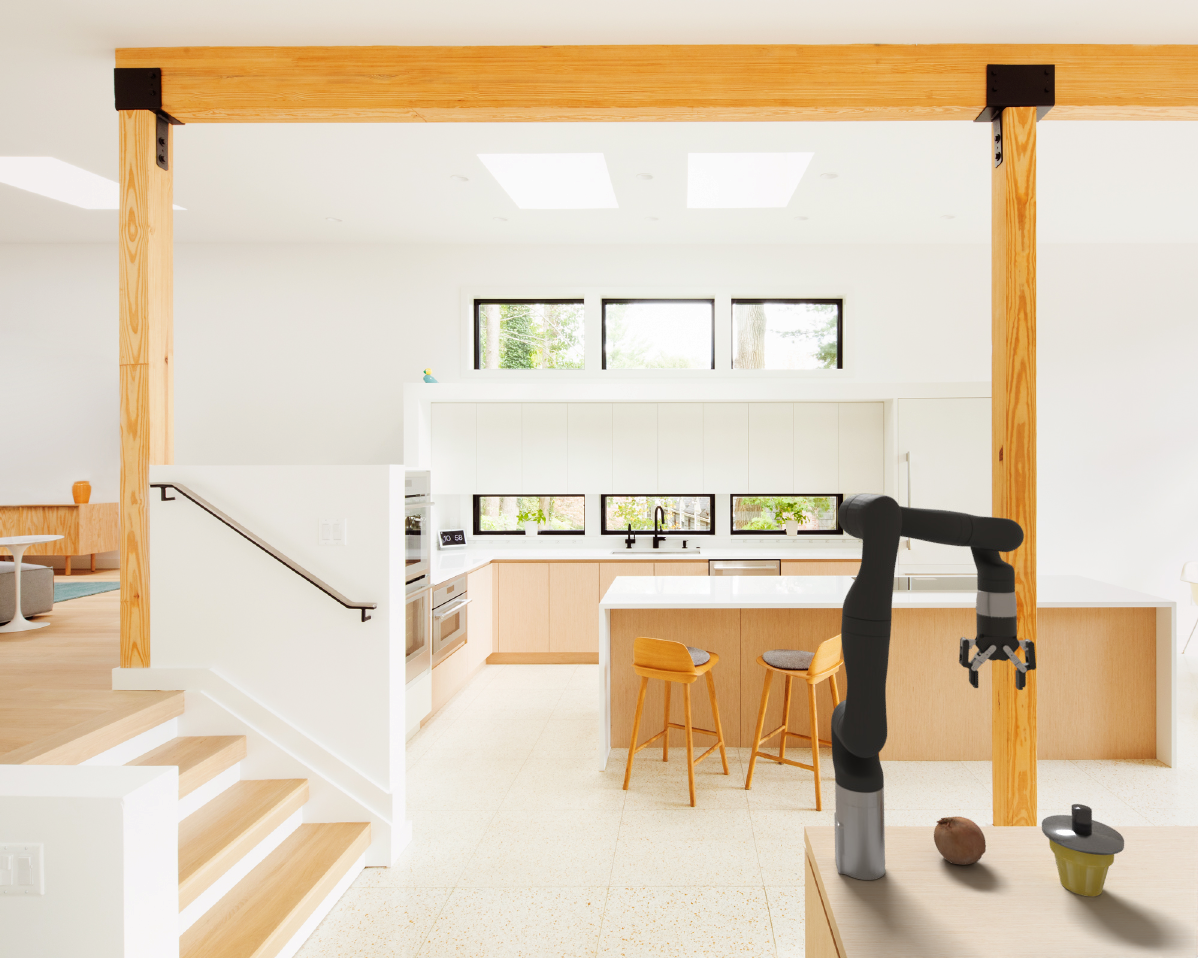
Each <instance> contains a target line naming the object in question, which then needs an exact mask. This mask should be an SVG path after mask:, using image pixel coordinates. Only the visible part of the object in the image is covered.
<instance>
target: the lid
mask: <svg viewBox="0 0 1198 958" xmlns="http://www.w3.org/2000/svg"><path fill="white" fill-rule="evenodd" d="M1041 830H1042V833H1043V835H1044V836H1046V837H1047V838H1048V839H1050V840H1052V841H1053V842H1055V843H1057V844H1059V845H1061V846H1064V847H1066V848H1069V849H1072V850H1075V851H1079V852H1083V853H1088V854H1095V855H1112V854H1114V855H1116V854H1120V852H1122V851H1124V849H1125V839H1124V836H1123V835H1121V833H1120V832H1119V831H1117V830H1116V829H1114V828H1112V827H1111V826H1109V825H1107V824H1104V823H1102V822H1100V821H1097V820H1093V810H1092V808H1091V807H1090V806H1088V805H1085V804H1081V803H1080V804H1079V803H1075V804H1071V815H1070V814H1067V815H1066V814H1057V815H1056V814H1055V815H1050V816H1047V817H1045V818H1044V819H1042V821H1041Z"/></svg>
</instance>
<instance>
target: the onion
mask: <svg viewBox="0 0 1198 958" xmlns="http://www.w3.org/2000/svg"><path fill="white" fill-rule="evenodd" d="M936 823H937V824H936V826H935V828H934V832H933V841H934V844H935V846H936V849H937V851H938V852H939V853H940V855H941V856H942V857H943V858H944V859H945V860H947V861H948V862H949V863H951V864H954V865H955V864H956V865H974V864H975V863H977V862H978V861H980V859H981V858H982V856H983V855H984V854H985V853H986V852H987V851H986V850H987V849H986V848H987V845H986V838H985V835H984V832H983V831H982V829H981V828H980V826H979V825H978V824H977V823H975V821H973V820H971V819H970V818H967V817H962V816H948V817H947V816H945V817H941V818H940V820H937V821H936Z"/></svg>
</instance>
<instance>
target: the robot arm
mask: <svg viewBox="0 0 1198 958" xmlns="http://www.w3.org/2000/svg"><path fill="white" fill-rule="evenodd" d="M837 520H838V523H839V526H840V528H841V529H842V530H843V531H844V532H845V533H846V534H847V535H849V536H850V537H853V538H856V539H860V540H862V548H861V549H862V551H861V562H860V567H859V570H858V573H857V575H856V577H855V579H854V580H853V583H852V584H851V586H850V587H849V589H848V592H847V594H846V596H845V598H844V600H843V605H842V610H841V612H842V614H841V628H840V633H841V635H840V638H841V639H840V640H841V650H842V657H843V662H844V667H845V673H846V687H847V688H846V697H845V700H842V701H840V702H839V703H837V705H836V706H835V708H834V710H833V711H832V714H831V719H830V720H831V721H830V731H831V732H830V736H831V737H830V739H831V758H832V764H833V769H834V783H835V784H834V785H835V786H834V789H835V790H834V792H835V794H834V795H835V799H834V800H835V812H834V817H833V818H834V856H835V857H834V858H835V863H836V868H837V872H838V874H843V875H846V876H849V877H851V878H854V879H856V880H857V879H858V880H865V881H868V880H869V881H870V880H871V881H873V880H877V879H881V877H883V876H884V875H885V873H886V843H885V841H886V840H885V838H886V837H885V836H886V835H885V832H886V831H885V787H884V786H885V783H884V781H885V780H884V779H885V778H884V777H885V776H884V771H883V767H882V764H881V760H880V755H879V753H880V752H881V751H882V749H883V748H884V746H885V744H886V741H887V739H888V717H887V701H886V699H887V698H886V697H887V695H886V692H887V689H886V687H887V677H888V668H889V656H890V654H889V653H890V645H891V644H890V643H891V633H892V617H893V616H892V614H893V613H892V608H893V607H892V606H893V594H894V584H895V574H896V573H895V572H896V571H895V569H896V563H897V558H898V557H897V556H898V551H899V546H900V541H901V540H900V539H901V537H903V538H909V539H915V540H920V541H924V542H929V543H934V544H938V545H939V544H941V545H944V546H945V545H946V546H954V547H967V548H968V547H969V548H970V551H971V554H972V558H973V562H974V565H975V567H976V574H977V576H976V580H977V582H976V583H977V585H976V586H977V592H976V598H975V601H976V602H975V611H976V618H975V619H976V621H975V622H976V636H975V639H974V638H966V637H965V636H962V637H960V639H959V657H958V663H959V664H960V665H961V666H962V667H963V668H966V669H968V682H969V684H970V685H971V686H972V687H973V688H974V689H979V671H978V670H979V668H980V667H981V665H983V664H984V663H985V662H986V661H987V660H989V661H998V660H999V661H1001V662H1007V661H1008V660H1009V661H1010V662H1011V663H1012V664H1013V665H1014V667H1015V668H1016V669H1015V674H1014V675H1015V688H1016V689H1017V690H1018V691H1023V690H1024V688H1026V685H1027V680H1026V679H1027V677H1026V675H1027V672H1028V671H1031V670H1032V671H1035V670H1036V669H1037V659H1036V649H1035V648H1036V647H1035V646H1036V645H1035V642H1034V641H1032V640H1031V639H1029V638H1025V639H1021V640H1019V639H1018V618H1017V617H1018V616H1017V615H1018V614H1017V612H1018V611H1017V609H1018V608H1017V598H1016V574H1015V573H1016V572H1015V567H1014V566H1013V565H1012V564H1010V563H1008V562H1006V561H1005V560H1003V559H1002V558H1001V555H1000V553H1010V552H1013V551H1015V550H1017V549H1019V547H1020V546H1021V545H1022V544H1023V541H1024V538H1025V534H1024V530H1023V528H1022V526H1021V525H1020V524H1019V523H1018V522H1016V521H1015V520H1013V519H1011V518H1003V517H996V516H994V517H992V516H981V515H974V514H969V513H965V512H958V511H952V510H947V509H946V510H945V509H944V510H943V509H934V508H932V509H931V508H921V507H920V508H919V507H910V506H901V505H900V504H899V503H898V502H897V500H896V499H894V498H893V497H891V496H888V495H884V494H873V493H857V494H853V495H850V496H848V497H847V498H845V499H844V500H843V501H842V503H841V504H840V506H839V508H838V511H837ZM974 646H975V647H976V648H977V649H978V650H977V651H976V652H975V654H974V655H973V657H972V659H971V660H970V661H969V656H970V650H971V649H972V648H973V647H974ZM1019 647H1021V649H1022V650H1023V651H1024V659H1025V662H1022V661H1021V660H1020V659H1019V658H1018V656H1017V655H1016V654H1015V653H1016V651H1017V650H1018V649H1019Z"/></svg>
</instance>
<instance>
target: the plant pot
mask: <svg viewBox="0 0 1198 958" xmlns="http://www.w3.org/2000/svg"><path fill="white" fill-rule="evenodd" d="M1048 839H1049V838H1048ZM1049 848H1050V850H1051V851H1052V853H1053V854H1054V858H1055V862H1056V863H1055V864H1056V867H1057V872H1058V876H1059V881H1060V883H1061V885H1062V886H1063V887H1064V888H1065V889H1067V890H1068V891H1069V892H1072V893H1074V894H1076V895H1080V896H1084V897H1098V896H1100V895H1101V894H1102V892H1103V890H1104V886H1105V881H1106V878H1107V875H1108V872H1109V867H1111V866H1112V865H1113V863H1114V861H1115V854H1112V855H1095V854H1088V853H1083V852H1079V851H1075V850H1072V849H1069V848H1066V847H1064V846H1061V845H1059V844H1057V843H1055V842H1053V841H1052V840H1050V839H1049Z"/></svg>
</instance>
